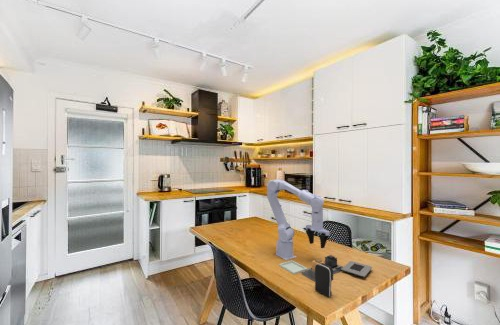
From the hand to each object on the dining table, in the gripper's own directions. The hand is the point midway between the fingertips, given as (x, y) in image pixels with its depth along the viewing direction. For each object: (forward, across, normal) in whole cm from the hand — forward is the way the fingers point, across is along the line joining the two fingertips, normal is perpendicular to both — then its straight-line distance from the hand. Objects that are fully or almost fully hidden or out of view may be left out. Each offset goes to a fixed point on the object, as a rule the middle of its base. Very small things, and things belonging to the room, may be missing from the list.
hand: (317, 245), depth 123 cm
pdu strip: (+9, +9, -5) cm, 14 cm away
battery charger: (+10, +21, -19) cm, 30 cm away
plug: (+8, +9, -9) cm, 15 cm away
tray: (+9, -2, -15) cm, 18 cm away
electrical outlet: (+10, +17, +10) cm, 22 cm away
